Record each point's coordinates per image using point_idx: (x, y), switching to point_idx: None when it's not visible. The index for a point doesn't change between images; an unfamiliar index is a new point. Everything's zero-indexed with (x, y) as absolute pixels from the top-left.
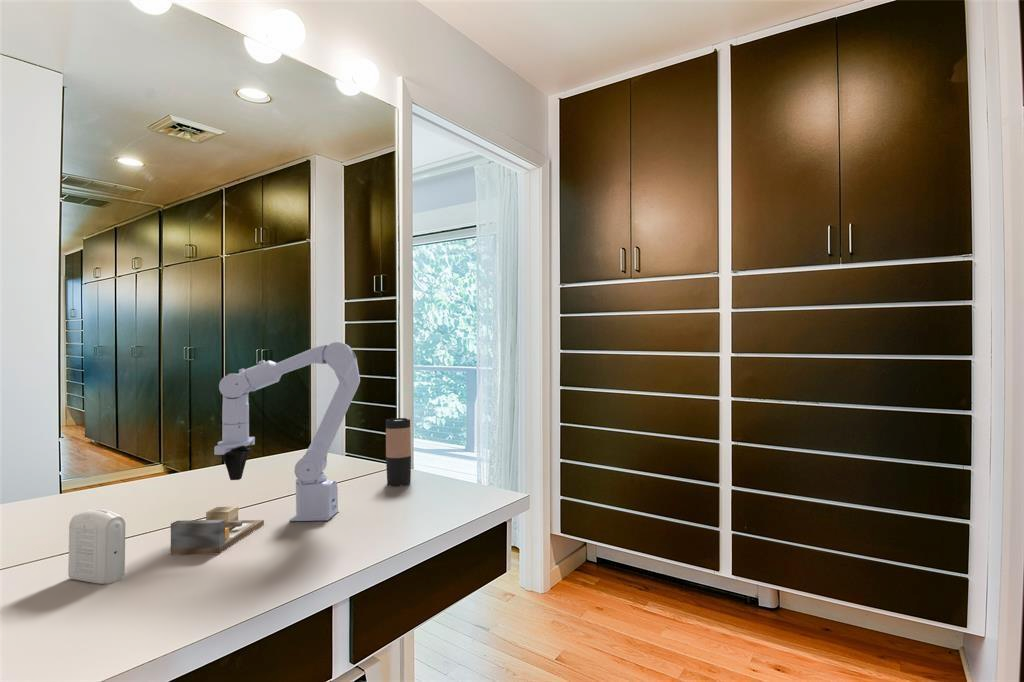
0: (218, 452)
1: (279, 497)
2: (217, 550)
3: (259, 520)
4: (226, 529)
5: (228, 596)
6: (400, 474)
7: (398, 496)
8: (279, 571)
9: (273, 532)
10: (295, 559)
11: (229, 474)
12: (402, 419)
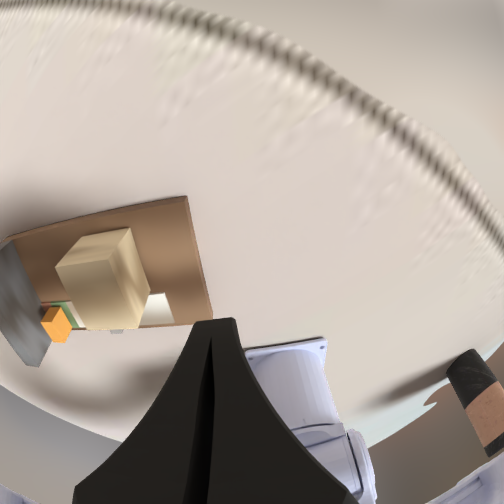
0: (9, 500)
1: (471, 196)
2: None
3: (206, 314)
4: (57, 341)
5: (17, 377)
6: (454, 387)
7: (389, 401)
8: (67, 399)
9: (169, 353)
10: (95, 405)
11: (183, 353)
12: None
